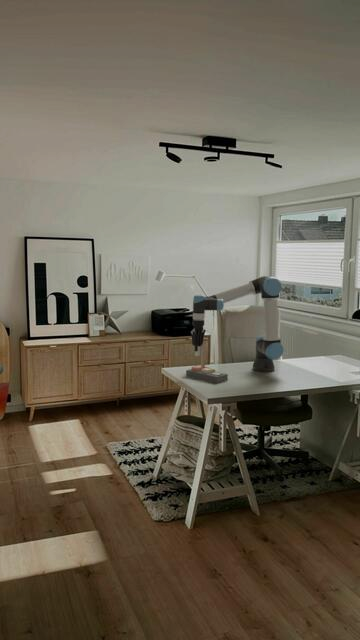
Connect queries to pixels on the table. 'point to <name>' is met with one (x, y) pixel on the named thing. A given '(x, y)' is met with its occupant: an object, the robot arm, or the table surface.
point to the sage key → (216, 374)
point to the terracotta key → (197, 368)
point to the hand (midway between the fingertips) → (197, 355)
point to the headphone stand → (204, 354)
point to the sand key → (206, 370)
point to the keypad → (207, 376)
